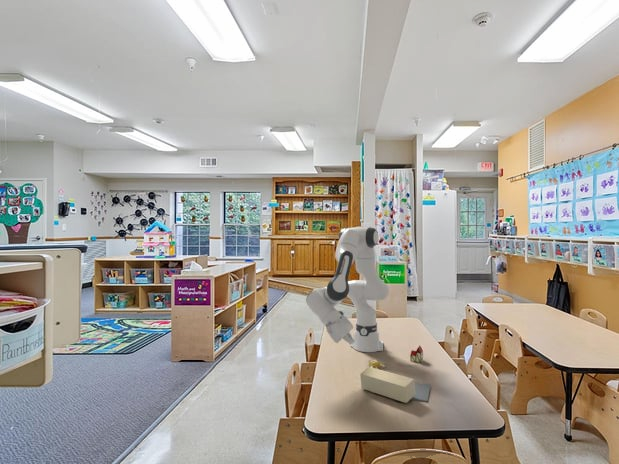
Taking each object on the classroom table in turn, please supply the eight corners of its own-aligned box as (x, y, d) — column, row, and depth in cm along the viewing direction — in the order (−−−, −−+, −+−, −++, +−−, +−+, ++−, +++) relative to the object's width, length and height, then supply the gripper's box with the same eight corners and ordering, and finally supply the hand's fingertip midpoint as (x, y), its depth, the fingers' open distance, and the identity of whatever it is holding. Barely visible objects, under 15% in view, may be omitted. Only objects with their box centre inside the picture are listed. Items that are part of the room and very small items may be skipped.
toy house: (424, 363, 181) (424, 348, 181) (410, 363, 182) (410, 347, 182) (423, 359, 186) (422, 344, 186) (409, 359, 188) (409, 343, 188)
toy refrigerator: (361, 390, 151) (406, 405, 137) (359, 373, 151) (405, 386, 137) (371, 382, 157) (415, 396, 143) (369, 366, 156) (414, 378, 142)
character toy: (372, 365, 170) (364, 359, 177) (372, 372, 170) (364, 366, 177) (386, 363, 172) (378, 357, 180) (386, 369, 172) (378, 363, 180)
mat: (378, 377, 163) (378, 376, 163) (430, 385, 154) (430, 384, 154) (369, 391, 149) (369, 390, 149) (427, 402, 140) (427, 400, 140)
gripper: (329, 320, 153) (351, 345, 150) (343, 310, 172) (363, 332, 168) (319, 329, 155) (341, 355, 151) (334, 318, 174) (354, 340, 170)
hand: (352, 343), depth 160 cm, fingers closed
